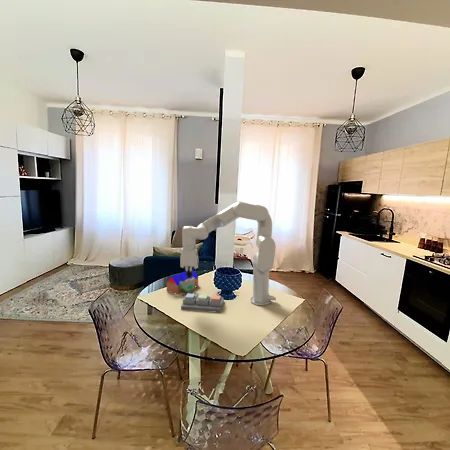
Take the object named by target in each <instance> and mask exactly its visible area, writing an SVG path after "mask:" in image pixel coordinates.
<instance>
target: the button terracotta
mask: <svg viewBox="0 0 450 450" xmlns="http://www.w3.org/2000/svg"><path fill="white" fill-rule="evenodd" d="M211 297H212V298H211ZM211 297H210V298H211V301H218V302H220V301H221V297H222V295H217V294H213V295H211Z"/></svg>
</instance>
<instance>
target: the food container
mask: <svg viewBox="0 0 450 450" xmlns="http://www.w3.org/2000/svg"><path fill="white" fill-rule="evenodd" d="M194 283H195V278H194V277H193V276H192V278H190V279H186V280H184V281H180V283H179V284H180V287H181V294H182V295H181V296H184V295H187V293H190V294H192V293H193V292H194V293H195V287H194ZM194 293H193V294H194Z"/></svg>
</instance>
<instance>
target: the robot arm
mask: <svg viewBox="0 0 450 450" xmlns="http://www.w3.org/2000/svg"><path fill="white" fill-rule="evenodd" d="M269 212H270V211H269V210H268V208H267V207H266V206H263V205H260V204H250V203H248V202H247V203H246V202H243V201H240V200H239V201H236V202H234V203H233V204H231V205H229V206H228V207H227V208H225V209H223V210H222V211H220V212H218V213H216V214H215V215H213V216H212V217H209V218H208V219H206V220H205V221H203V222H201V223H200V224H198V225H197V227H195V226H192V225H186V226H185V225H184V226H182V229H181V230H182V231H181V234H182V237H181V238H182V248H181V251H180V256H179V257H180V259H179V260H180V265H179V266H180V268H182V269H184V271H187V278H190V277H191V276H192V270H196V269H199V253H198V248H199V246H198V245H197V244H196V240H199V241H200V240H202V241H203V240H206V239H207V238H208V237H209V234H210V233H212V231H215V230H216V229H218V228H223V227H226V226H228V225H230V224H231V223H232V222H234V221H236V220H237V219H239V218H240V219H241V218H242V219H246V220H250V221H251V220H253V221H256V222H257V233H256V239H255V240H256V241H255V243H256V246H257V248H258V251H255V253H254V255H253V257H252V268H253V273H252V276H253V277H252V282H253V283H252V296H251V297H250V303H252V304H253V305H256V306H267V305H270V304H271V302H272V301H276V299H277V297H276V296H274V295H270V293H269V291H270V290H269V288H270V287H269V286H270V283H269V282H270V281H269V280H270V279H269V278H270V271H271V270H272V269H273V267H274V264H275V263H274V262H275V257H276V242H275V240H274V238H272V234H273V221H272V216H271V215H270V213H269Z"/></svg>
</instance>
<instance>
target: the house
mask: <svg viewBox="0 0 450 450" xmlns="http://www.w3.org/2000/svg"><path fill="white" fill-rule="evenodd" d="M192 276H193V277H194V278H195V283H194V288H196V287H195V286H197V285H198V286H199V276H198V275H197V273H196V271H195V269H193V270H192ZM192 276H191V277H190V278H192ZM190 278H187V271H186V270H184V271H182V272H179V273H178V274H174V275H172V276H170V277H169V278H168V279H167V280H166V281H165V282H166V291H168V292H169V291H170V293H172V292H173V293H172V294H175V293H176V294H175V295H177V294H178V295H180V294H179V293H181V287H180V284H179V283H180V281H184V280H186V279H190ZM198 286H197V287H198Z"/></svg>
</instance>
